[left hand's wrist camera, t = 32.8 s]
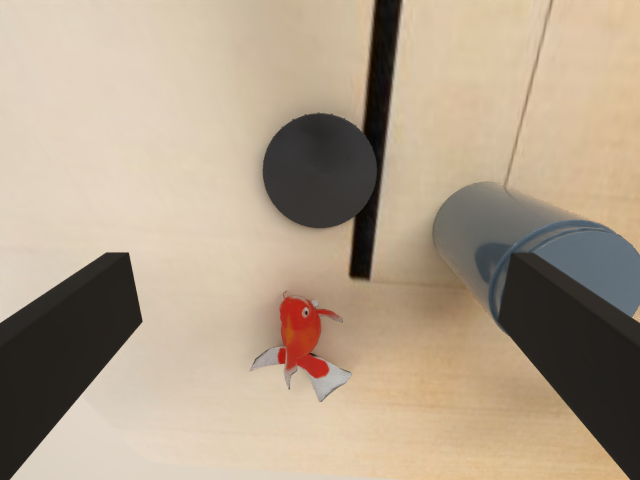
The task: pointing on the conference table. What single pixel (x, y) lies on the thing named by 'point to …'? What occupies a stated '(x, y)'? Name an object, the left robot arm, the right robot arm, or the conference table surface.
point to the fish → (303, 346)
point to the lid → (319, 170)
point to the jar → (531, 245)
